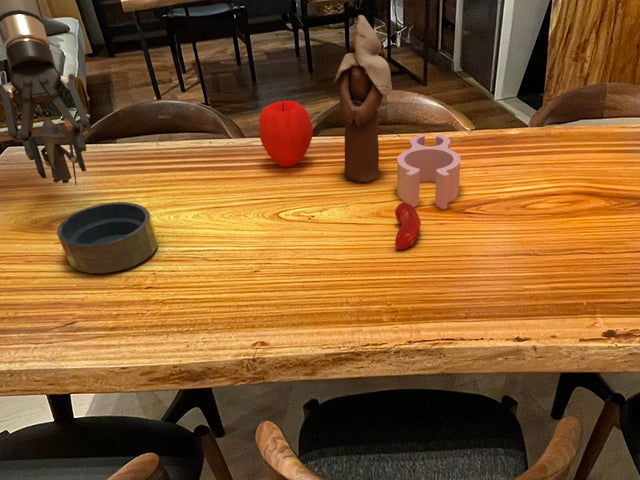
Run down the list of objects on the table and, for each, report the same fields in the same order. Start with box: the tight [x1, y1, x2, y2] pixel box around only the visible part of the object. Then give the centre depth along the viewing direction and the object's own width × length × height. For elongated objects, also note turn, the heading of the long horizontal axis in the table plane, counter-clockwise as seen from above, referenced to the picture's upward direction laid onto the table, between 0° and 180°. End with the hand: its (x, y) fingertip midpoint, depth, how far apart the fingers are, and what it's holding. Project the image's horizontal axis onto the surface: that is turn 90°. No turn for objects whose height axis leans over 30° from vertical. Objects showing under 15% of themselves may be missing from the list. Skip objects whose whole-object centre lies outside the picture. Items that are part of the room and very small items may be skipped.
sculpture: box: [333, 14, 393, 183], centre depth 124 cm, size 12×13×30 cm
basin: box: [56, 201, 159, 274], centre depth 111 cm, size 16×16×6 cm
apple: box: [258, 100, 314, 168], centre depth 135 cm, size 12×12×13 cm
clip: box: [396, 133, 462, 210], centre depth 127 cm, size 20×12×7 cm, turn 175°
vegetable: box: [394, 202, 422, 250], centre depth 113 cm, size 4×5×12 cm
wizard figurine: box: [32, 118, 78, 186], centre depth 114 cm, size 8×6×12 cm
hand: (62, 171), depth 113 cm, fingers closed on wizard figurine, 6 cm apart
